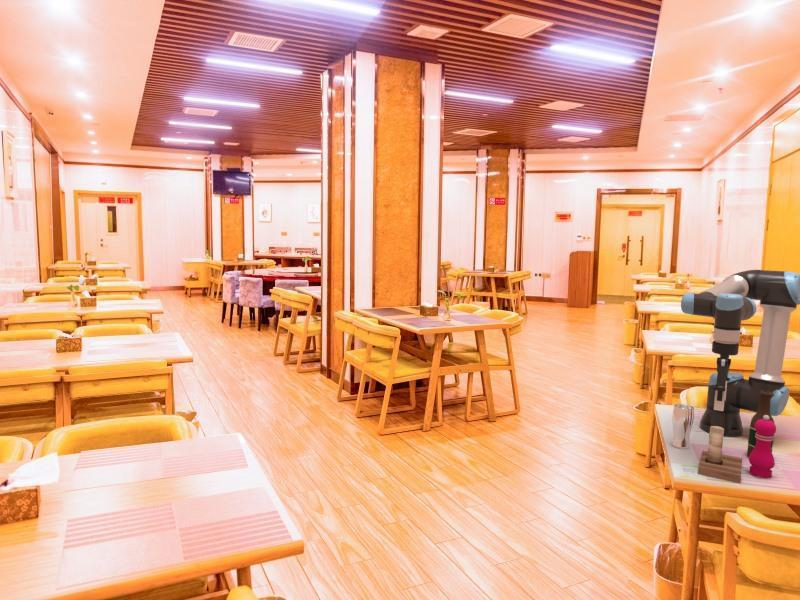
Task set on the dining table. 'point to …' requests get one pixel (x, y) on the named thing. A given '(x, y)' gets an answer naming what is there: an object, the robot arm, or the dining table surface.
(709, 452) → the peg
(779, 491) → the dining table surface
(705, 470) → the board
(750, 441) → the beer bottle
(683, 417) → the beer glass
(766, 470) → the pepper mill
